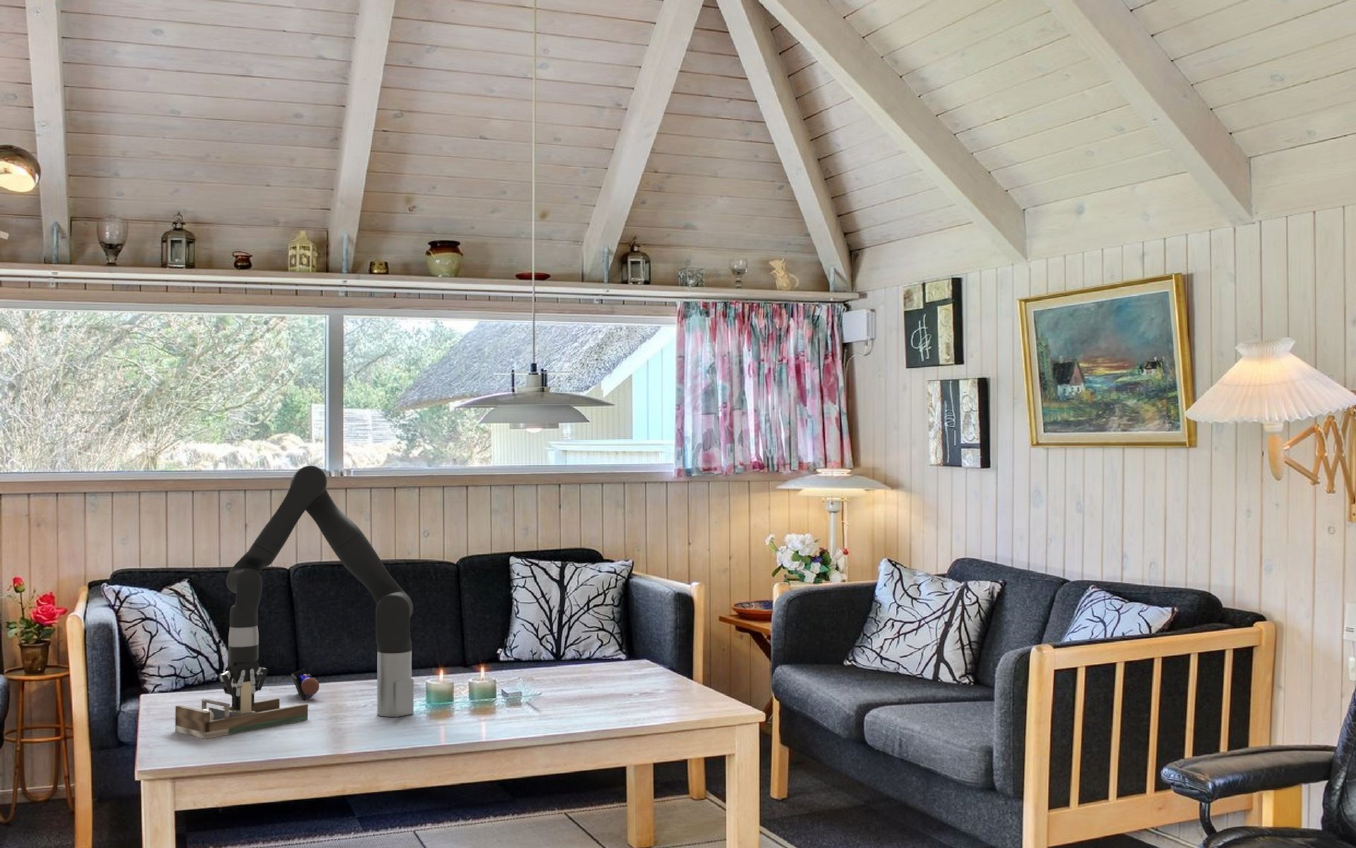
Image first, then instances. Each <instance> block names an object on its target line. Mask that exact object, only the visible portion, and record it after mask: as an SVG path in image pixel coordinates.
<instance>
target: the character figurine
mask: <svg viewBox="0 0 1356 848" xmlns="http://www.w3.org/2000/svg"><path fill="white" fill-rule="evenodd" d="M290 676H291V680H292V681H293V683H294V686H295V689H296V691H297V693H298V696H299V697H300V698H301V700H302V701H305V700H306V697H305V695H306V696H310V697H313V696H314V695H316V694H317V693H318V692H319V690H320V683H319V681H318V680H317V679H316V678H315V677H312V675H311V674H310V673H307V671H306V669H305V668H302V669H301V670H298V671H296V672H293V673H291V674H290Z"/></svg>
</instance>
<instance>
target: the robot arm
mask: <svg viewBox="0 0 1356 848" xmlns="http://www.w3.org/2000/svg"><path fill="white" fill-rule="evenodd" d="M327 483H328V480H327V475H326V473H325V472H324V471H323V469H322V468H320V467H318V466H316V465H304V466H302V467H301V468H299V469H298V470H296V472H295V473H294V475H293V477H292V478H291V480H290V486H289V489H288V491H287V493H286V495H285V497H284V498H283V501H282V502H281V504H280V506H279V507H278V508H277V510H275V513H274V514H273V515H272V516H271V518H269V520H268V522H267V523H266V524H265V526H264V527H263V528H262V530H261V531H260V532H259V534H258V536H257V537H256V539H255V540H254V541H253V543H252V545H251V546H250V547H249V549H248V551H246V553H244V554H243V556H241V557H240V559H239V560H237V562H236V563H235V564H234V565H233V566H232V568H231V569H230V570H229V572H228V574H227V576H226V580H225V585H226V586H227V587H226V588H227V589H228V590H229V591H230V592H231V593H233V594H235V601H234V602H235V603H234V604H233V605H232V606H231V607H230V610H229V631H228V658H227V659H228V667H227V671H225V672H224V673H218V676H217V677H218V680H219V681H220V684H221V687H222V690H223V692H224V694H225V695H226V694H227V695H229V696H231V706H232V708H233V709H234V710H237V711H238V710H240V696H239V695H240V692H241V687H242V686H243V682H245V681H246V682H248V681H250V682H251V708H252V707H253V706H254V702H255V693H256V692H258V691H262V688H263V685H264V683H265V680H266V676H267V675H268V672H269V669H268V668H266V667H262V666H260V665H259V663H258V660H259V649H260V648H259V646H260V645H259V643H260V641H259V639H260V637H259V628H258V626H259V625H258V624H259V623H258V621H259V620H258V619H259V618H258V617H259V615H258V608H259V605H260V603H261V597H262V593H263V592H262V591H263V580H262V579H263V578H262V576H261V574H260V572H261V571H262V570H263V569H264V568H267V567H269V566H270V565H272V564H273V562H274V561H275V559H276V558H277V556H278V554H280V552H281V550H282V548H283V547H284V546H285V544H286V543H287V541H288V540H289V537H290V535H291V533H292V532H293V530H294V529H295V527H296V525H297V523H298V521H299V520H300V518H301V517H302V515H303V514H304V513H305V511H306V512H307V514H308V515H309V516H310V518H312V519H313V521H314V522H315V524H316V526H317V527H318V529H319V531H320V532H321V534H322V535H323V537H324V538H325V540H326V542H327V543H328V545H329V546H330V547H331V549H332V551H333V553H335V556H337V558H338V559H339V561H340V562H341V564H342V565H343V566H344V567H345V569H346V570H347V571H348V572H350V574H351V575H352V576H353V577H354V578H356V579H357V580H358V581H359V582H360V583H361V584H362V585H363V586H364V587H365V588H366V590H367V591H368V592H369V594H370V595H371V596H372V599H374V602H375V603H376V607H375V642H376V645H377V646H376V647H377V649H376V650H377V655H376V656H377V662H376V663H377V665H376V666H377V668H376V669H377V670H376V672H377V673H376V675H377V676H376V677H377V678H376V682H377V683H376V686H377V687H376V690H377V691H376V694H377V695H376V701H377V703H376V705H377V706H376V708H377V709H376V714H377V716H381V717H389V718H390V717H393V718H394V717H395V718H398V717H403V716H409V715H412V714H413V715H414V709H415V707H414V706H415V705H414V699H415V698H414V697H415V696H414V692H415V691H414V690H415V689H414V687H415V686H414V682H415V680H414V679H413V678H412V677H411V673H412V669H411V667H412V653H413V652H412V650H413V649H412V648H413V647H412V639H411V617H412V615H413V612H414V604H413V601H412V599H411V597H410V596H409V595H408V594H407V593H406V592H405V590H404V589H403V588H401V586H400V585H399V584H398V582H397V581H396V580H395V579H394V578H393V577H392V575H390V573H389V572H388V570H387V568H386V566H385V565H384V564H383V561H382V559H381V558H380V556H379V555H378V554H377V552H376V550H375V549H374V547H373V546H372V544H371V543H370V541H369V539H368V538H367V537H366V536H365V534H364V533H363V531H362V530H361V529H360V527H359V526H358V525H357V524H356V523H355V522H354V521H353V520H351V518H349V517H348V516H347V515H346V514H345V513H344V512H343V511H341V510H340V509H339V507H338V506H337V505H336V503H335V502H334V500H333V499H332V497H331V496H330V494H329V492H328V490H327V485H328V484H327ZM230 677H231V678H230ZM411 678H412V679H411ZM230 680H231V682H230ZM236 682H238V683H237V684H236Z"/></svg>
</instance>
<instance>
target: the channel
mask: <svg viewBox="0 0 1356 848" xmlns="http://www.w3.org/2000/svg"><path fill="white" fill-rule="evenodd" d="M208 704H210V705H215V706H216V705H217V706H220V707H221V708H222V709H224V719H218V720H213V721H210V712H207V711H203V709H208ZM280 705H281V703H280V698H278V697H276V698H271V699H265V700H259V701H254V706H253V707H252V708H251V711H254V712H256V713H252V714H246V715H240V716H235V717H229V710H231V711H235V710H234V709H233V708H232V705H231V704H230V703H226V702H221V701H218V700H213V699H207V698H202V699H201V709H199V708H193V707H190V706H184V705H179V704H178V705H175V707H174V708H175V712H174V713H175V714H174V715H175V717H174V718H175V723H174V724H175V725H174V726H175V727H174V728H175V729H174V732H177V733H180V734H181V733H182V734H185V735H188V736H191V737H197V738H199V739H200V738H201V739H207V740H208V739H211V738H216V737H221V736H228V735H232V734H238V733H243V732H248V731H253V730H259V729H265V728H269V727H275V726H280V725H284V724H289V723H290V724H291V723H295V722H300V721H306V720H309V719H308V718H309V713H308V712H309V709H308V708H309V705H308V704H307V703H302V704H298V705H292V706H287V707H280Z"/></svg>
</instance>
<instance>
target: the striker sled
mask: <svg viewBox="0 0 1356 848" xmlns="http://www.w3.org/2000/svg"><path fill="white" fill-rule="evenodd" d="M237 683H238V682H236V684H237ZM239 696H240V710H238V711H237V710H235V711H231V710H229V717H235V716H240V715H246V714H252V713H256V712H254V711H251V682H250V681H248V682H246V681H245V682H243V686H242V687H241V692H240V695H239ZM222 708H223V707H217V706H208V710H210V711H212V712H213V714H214V720H218V719H224V709H222Z"/></svg>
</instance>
